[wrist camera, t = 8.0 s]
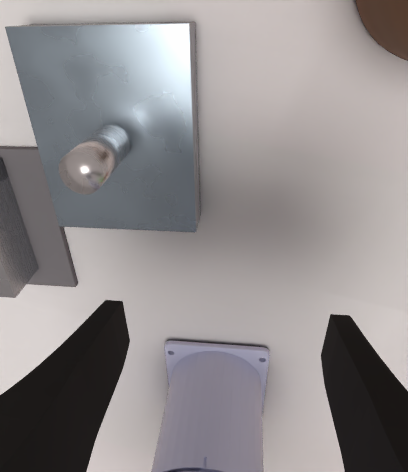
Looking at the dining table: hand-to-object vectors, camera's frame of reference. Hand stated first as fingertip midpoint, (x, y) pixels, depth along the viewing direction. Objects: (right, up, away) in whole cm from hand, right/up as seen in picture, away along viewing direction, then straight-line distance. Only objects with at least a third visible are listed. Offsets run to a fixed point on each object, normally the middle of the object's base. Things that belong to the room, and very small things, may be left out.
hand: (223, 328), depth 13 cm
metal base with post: (-5, +9, +7) cm, 12 cm away
